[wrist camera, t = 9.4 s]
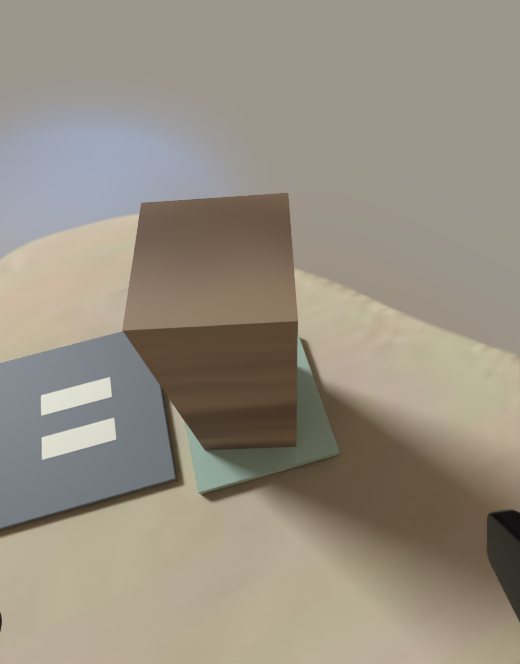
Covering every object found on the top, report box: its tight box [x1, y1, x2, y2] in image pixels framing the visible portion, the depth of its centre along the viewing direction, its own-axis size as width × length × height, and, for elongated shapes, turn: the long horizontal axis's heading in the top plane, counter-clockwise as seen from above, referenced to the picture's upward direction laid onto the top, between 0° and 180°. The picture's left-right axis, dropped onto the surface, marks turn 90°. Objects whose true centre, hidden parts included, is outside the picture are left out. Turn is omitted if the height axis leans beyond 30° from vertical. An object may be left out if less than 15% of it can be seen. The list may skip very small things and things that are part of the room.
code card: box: [0, 332, 177, 530], centre depth 24 cm, size 9×9×1 cm
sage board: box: [185, 335, 340, 495], centre depth 23 cm, size 7×7×1 cm
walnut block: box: [122, 193, 298, 450], centre depth 18 cm, size 4×4×12 cm
